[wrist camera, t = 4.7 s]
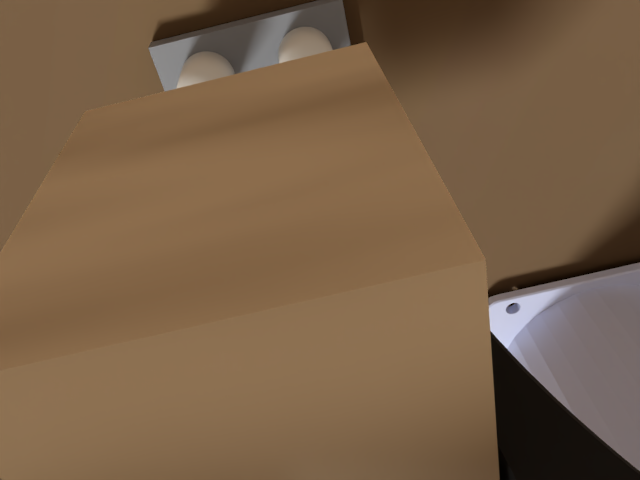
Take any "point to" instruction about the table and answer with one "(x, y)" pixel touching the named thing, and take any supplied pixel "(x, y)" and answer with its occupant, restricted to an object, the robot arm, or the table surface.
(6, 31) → the table surface
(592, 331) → the robot arm
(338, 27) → the peg stand
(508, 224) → the table surface
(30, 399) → the wooden block
